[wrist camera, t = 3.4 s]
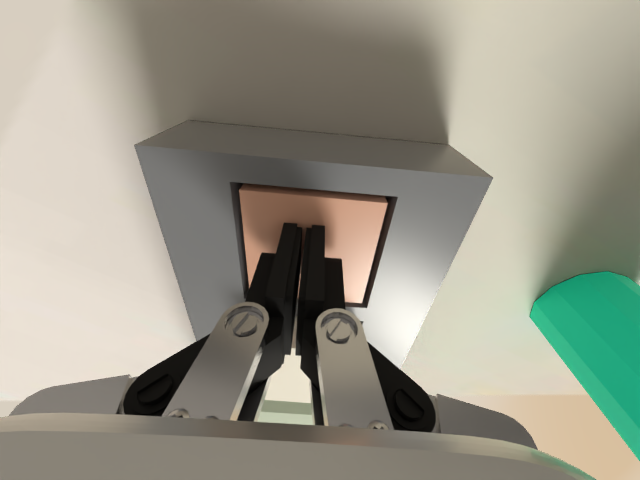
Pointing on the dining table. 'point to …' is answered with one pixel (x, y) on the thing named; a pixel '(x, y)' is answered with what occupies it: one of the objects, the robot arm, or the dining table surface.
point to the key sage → (286, 412)
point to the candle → (599, 342)
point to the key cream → (290, 379)
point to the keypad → (321, 174)
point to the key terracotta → (315, 209)
